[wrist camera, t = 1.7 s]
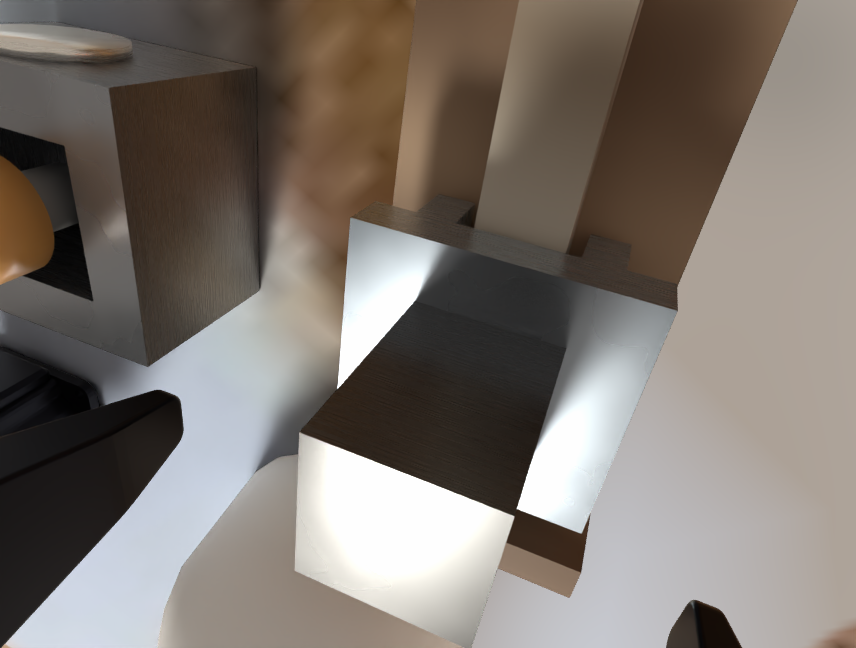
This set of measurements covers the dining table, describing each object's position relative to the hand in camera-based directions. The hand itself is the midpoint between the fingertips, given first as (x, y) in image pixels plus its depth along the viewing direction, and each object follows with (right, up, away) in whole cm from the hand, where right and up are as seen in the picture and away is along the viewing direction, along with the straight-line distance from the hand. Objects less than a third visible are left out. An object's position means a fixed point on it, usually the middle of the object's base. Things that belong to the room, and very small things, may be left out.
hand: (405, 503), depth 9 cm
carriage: (+2, +3, +5) cm, 6 cm away
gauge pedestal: (-8, +8, +9) cm, 14 cm away
